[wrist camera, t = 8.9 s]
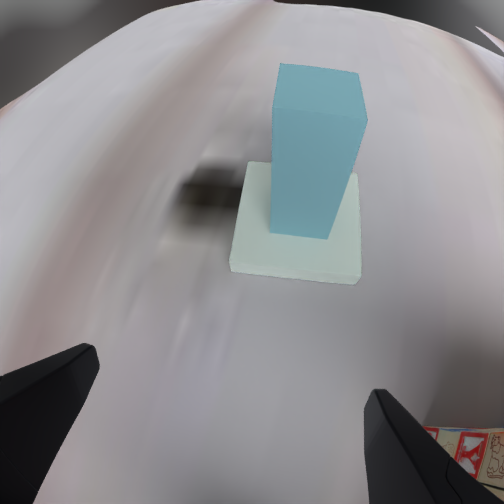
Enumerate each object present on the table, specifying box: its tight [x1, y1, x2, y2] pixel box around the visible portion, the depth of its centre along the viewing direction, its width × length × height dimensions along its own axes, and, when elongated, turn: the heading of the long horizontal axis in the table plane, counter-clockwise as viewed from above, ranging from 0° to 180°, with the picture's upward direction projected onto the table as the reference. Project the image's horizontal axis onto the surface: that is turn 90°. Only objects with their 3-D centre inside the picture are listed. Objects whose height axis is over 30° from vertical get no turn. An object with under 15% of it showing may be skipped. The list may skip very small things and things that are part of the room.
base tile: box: [229, 161, 361, 285], centre depth 26 cm, size 10×10×2 cm
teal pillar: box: [270, 63, 368, 240], centre depth 19 cm, size 4×4×12 cm
